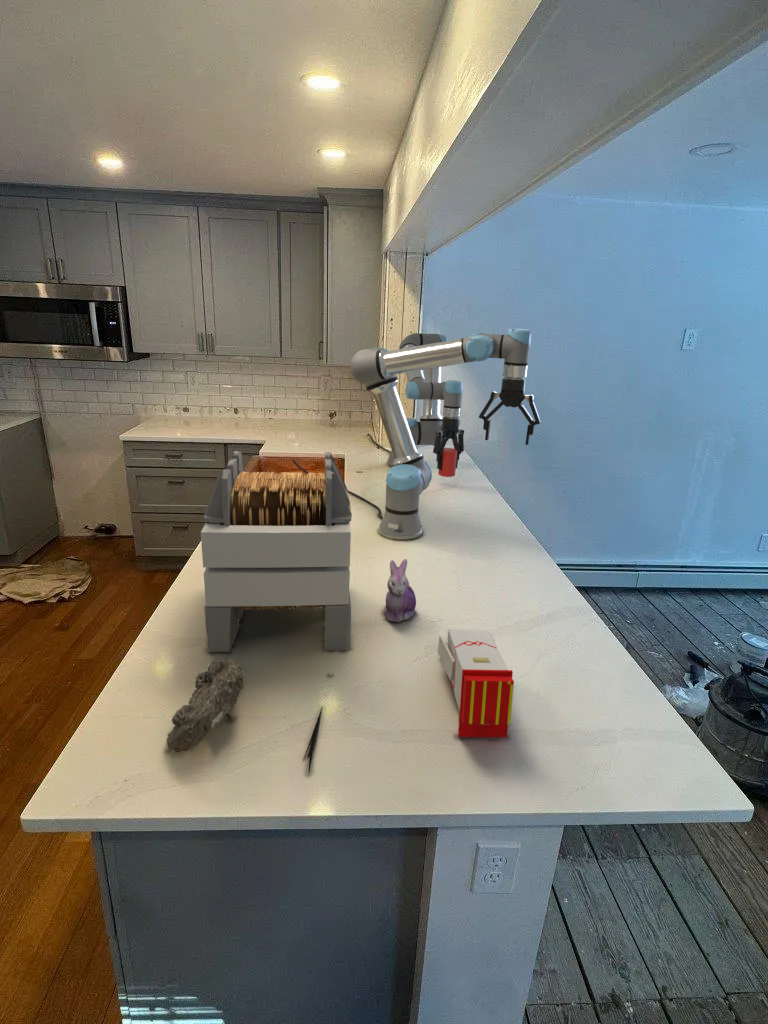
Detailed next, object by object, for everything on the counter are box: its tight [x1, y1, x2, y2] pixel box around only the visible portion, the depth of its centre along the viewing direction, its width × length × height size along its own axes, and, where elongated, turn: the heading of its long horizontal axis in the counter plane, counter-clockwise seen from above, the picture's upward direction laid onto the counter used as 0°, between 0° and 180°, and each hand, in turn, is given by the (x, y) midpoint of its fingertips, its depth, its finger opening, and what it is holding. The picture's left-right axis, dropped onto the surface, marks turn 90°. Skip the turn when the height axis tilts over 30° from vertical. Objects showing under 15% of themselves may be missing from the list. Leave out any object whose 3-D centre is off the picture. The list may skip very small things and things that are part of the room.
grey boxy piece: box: [200, 450, 353, 653], centre depth 138 cm, size 34×33×41 cm
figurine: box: [384, 558, 417, 623], centre depth 145 cm, size 9×10×15 cm
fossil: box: [166, 658, 245, 754], centre depth 106 cm, size 22×10×15 cm
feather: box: [301, 673, 332, 771], centre depth 108 cm, size 2×28×2 cm
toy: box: [437, 628, 515, 738], centre depth 117 cm, size 12×13×30 cm
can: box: [437, 447, 457, 478], centre depth 252 cm, size 8×8×11 cm
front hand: (506, 441), depth 193 cm, fingers open, 13 cm apart
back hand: (447, 468), depth 253 cm, fingers closed on can, 8 cm apart
